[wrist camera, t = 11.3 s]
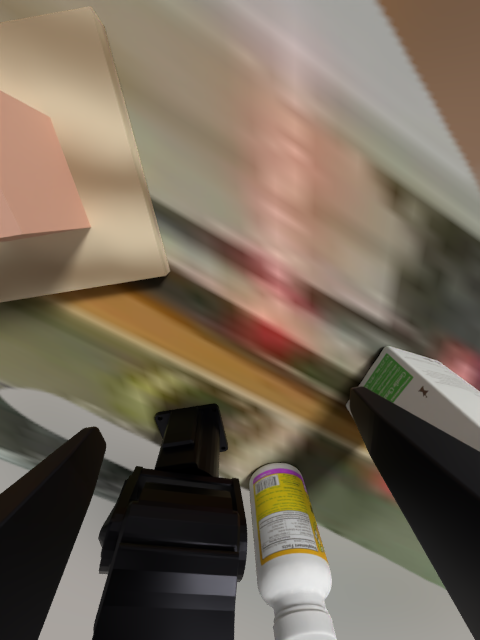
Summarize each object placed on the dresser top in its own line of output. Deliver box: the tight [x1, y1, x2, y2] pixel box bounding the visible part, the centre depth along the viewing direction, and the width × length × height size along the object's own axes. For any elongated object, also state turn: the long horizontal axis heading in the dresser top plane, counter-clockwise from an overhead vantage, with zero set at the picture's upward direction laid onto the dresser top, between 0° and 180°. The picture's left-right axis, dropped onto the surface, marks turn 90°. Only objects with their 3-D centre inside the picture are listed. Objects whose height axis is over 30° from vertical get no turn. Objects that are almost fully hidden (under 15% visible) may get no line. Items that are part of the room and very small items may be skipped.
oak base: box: [0, 6, 170, 302], centre depth 16 cm, size 14×14×2 cm
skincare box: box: [346, 346, 480, 451], centre depth 18 cm, size 8×7×16 cm
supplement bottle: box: [249, 463, 337, 640], centre depth 24 cm, size 7×7×13 cm
